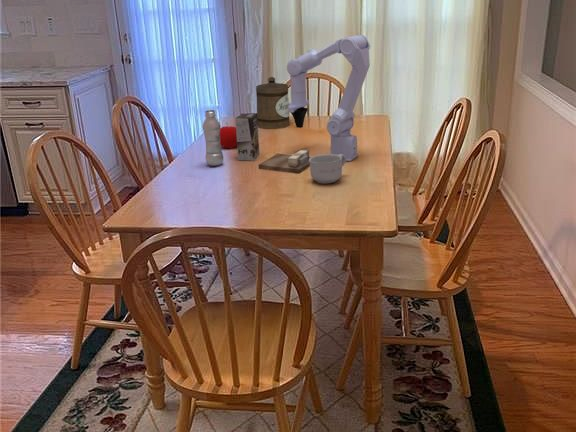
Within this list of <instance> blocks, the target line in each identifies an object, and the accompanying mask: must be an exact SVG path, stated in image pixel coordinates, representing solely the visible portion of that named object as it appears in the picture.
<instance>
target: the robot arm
mask: <svg viewBox="0 0 576 432" xmlns="http://www.w3.org/2000/svg"><path fill="white" fill-rule="evenodd" d="M370 48H371V44H370V42H369V40H368V38H367V37H366V36H365V35H363V34H356V35H353V36H345V37H344V38H340V39H338V40H335V41H334V42H333V41H332V43H330V44H328V45H327V46H325V47H323V48H321V49H320V50H317V49H309V50H307V53H305V54H303V55H301V54H300V55H298V56H297V58H296V59H293V58H292V59H290V60H289V61H288V62H287V65H286V71H287V72H288V74H289V77H290V79H289V80H290V102H289V107H288V112H289V113H290V114H291V116H292V118H293V120H294V124H295V126H296V128H298V129H299V128H300V129H301V128H303V127H304V124H305V123H304V122H305V117H306V115H307V112H308V110H309V108H308V107H307V106H310V100H309V99H307V80H306V79H307V78H306V77H307V74H308V72H309V71H310V70H313V69H314V68H316V67H318V66H320V65H321V64H323V63H322V62H323V60H324V59H326V58H328V57H331V56H333V55H335V54H342V56H343V57H344V58H346V60H347V61H348V62H349V64H350V65H351V67H352V68H351V71H350V74H349V76H348V80H347V82H346V85H345V88H344V91H343V93H342V96H341V99H340V102H339V105H338V107H337V109H336V110H335V111H334V112H333V113H332V115H331V118H330V119H329V120H328V121H327V122H326V129H327V132H328V133H329V135H330V154H335V155H339V154H343V155H344V156H345V157H346V162H352V161H353V160H354V159H356V157H358V155H359V154H358V137H357V136H356V135H355V134H351V132H352V129H353V127H354V125H355V123H354V118H355V115H356V114H355V113H354V112H353V111H354V110H355V106H356V104H357V101H358V98H359V95H360V93H361V90H362V88H363V85H364V83H365V79H366V77H367V74H368V72H369V68H370V64H371V63H370Z"/></svg>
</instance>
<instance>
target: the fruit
mask: <svg viewBox="0 0 576 432" xmlns="http://www.w3.org/2000/svg"><path fill="white" fill-rule="evenodd" d="M225 124H226V125H225V126H221V127H220V144H221V148H224V149H234V148H235V147H237V134H236V126H228V122H226V123H225Z"/></svg>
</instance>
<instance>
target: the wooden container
mask: <svg viewBox="0 0 576 432" xmlns="http://www.w3.org/2000/svg"><path fill="white" fill-rule="evenodd" d="M267 81H268V82H267V83H262V84H261V83H260V84H258V85H256V87H255V91H256V92H255V94H256V95H255V96H256V113H257V120H258V128H261V129H264V130H266V129H267V130H276V129H277V130H278V129H283V128H284V129H285V128H287V127H289V126H290V112H288V107H289V106H290V105H289V103H290V101H289V100H290V99H289V85H288V84H286V83H282V82H281V83H278V82H276V78H275V77H274V76H269V77H268V78H267Z"/></svg>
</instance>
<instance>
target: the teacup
mask: <svg viewBox="0 0 576 432" xmlns="http://www.w3.org/2000/svg"><path fill="white" fill-rule="evenodd" d="M310 157H311V158H310V159H309V162H310V166H309V171H310V176H311V178H312V179H313V180H314V181H316V183H319V184H332V183H335V182H337V181H338V180H339V178H341V176H342V174H343V173H342V172H343V167H344V165H345V164H346V162H347V161H346V157H345V156H344V155H343V154H339V155H335V154H331V153H330V154H329V153H326V154H325V153H324V154H318V155H314V156H310Z"/></svg>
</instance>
